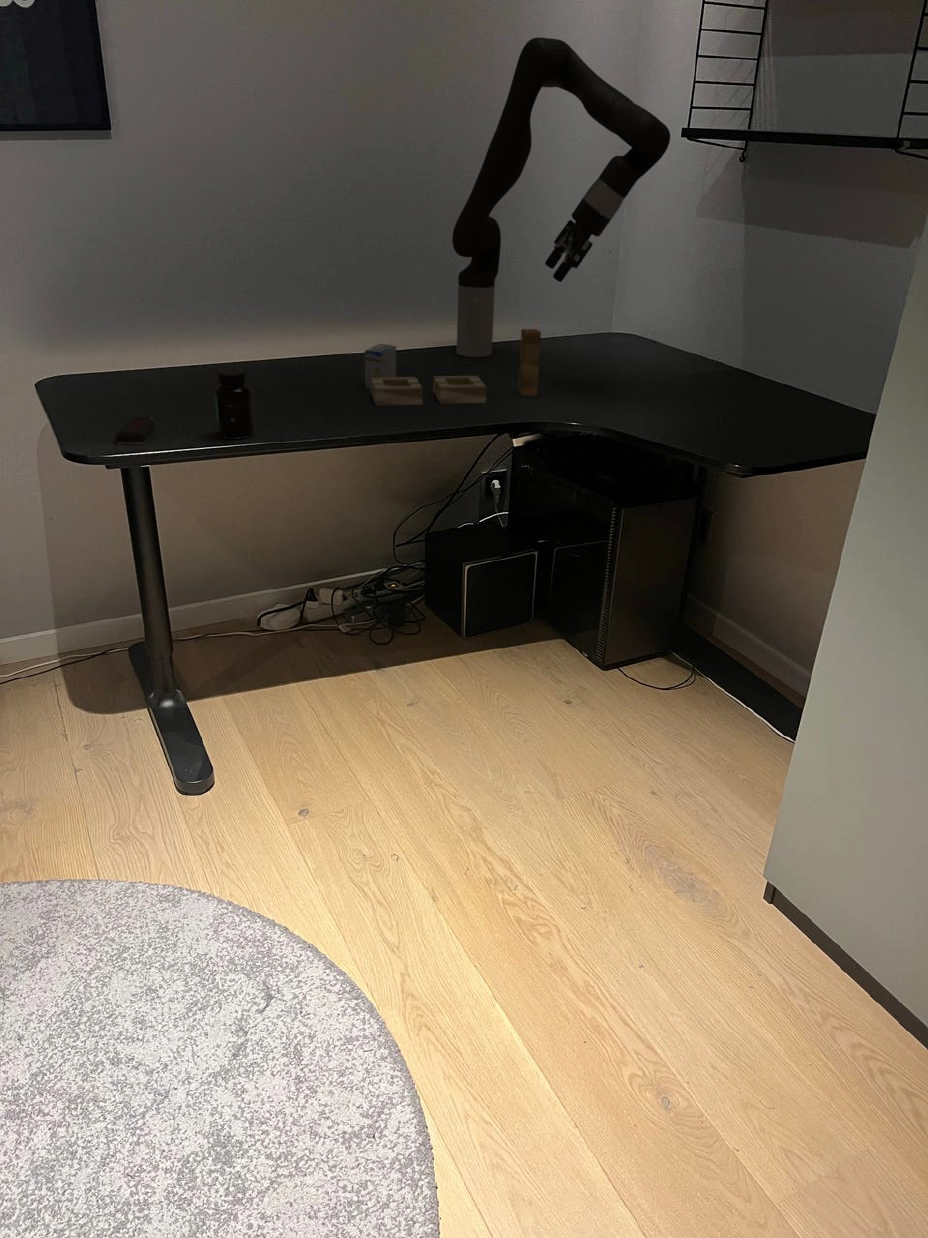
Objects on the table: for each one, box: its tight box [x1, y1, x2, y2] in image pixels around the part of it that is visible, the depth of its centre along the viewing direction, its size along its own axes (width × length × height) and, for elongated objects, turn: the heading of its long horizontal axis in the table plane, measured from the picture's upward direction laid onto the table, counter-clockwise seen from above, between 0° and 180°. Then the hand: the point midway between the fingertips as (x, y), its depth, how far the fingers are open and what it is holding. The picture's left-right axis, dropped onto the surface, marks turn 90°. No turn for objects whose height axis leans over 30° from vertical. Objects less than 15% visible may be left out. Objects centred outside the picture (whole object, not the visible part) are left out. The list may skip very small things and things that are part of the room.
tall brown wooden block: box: [517, 328, 542, 397], centre depth 217 cm, size 4×4×14 cm
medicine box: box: [364, 343, 397, 390], centre depth 221 cm, size 8×4×9 cm, turn 160°
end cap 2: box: [432, 375, 488, 405], centre depth 215 cm, size 10×10×4 cm
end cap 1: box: [370, 376, 424, 407], centre depth 212 cm, size 10×10×4 cm
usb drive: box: [115, 416, 156, 443], centre depth 185 cm, size 5×12×3 cm, turn 4°
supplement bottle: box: [214, 368, 255, 438], centre depth 185 cm, size 7×7×12 cm
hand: (552, 272), depth 213 cm, fingers open, 8 cm apart
